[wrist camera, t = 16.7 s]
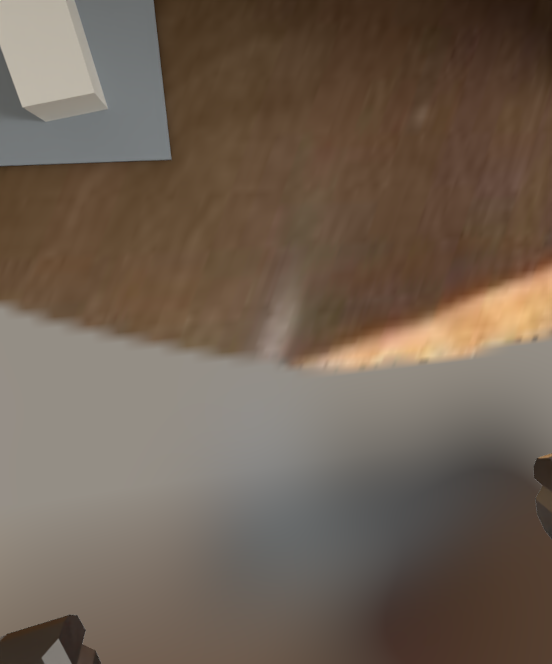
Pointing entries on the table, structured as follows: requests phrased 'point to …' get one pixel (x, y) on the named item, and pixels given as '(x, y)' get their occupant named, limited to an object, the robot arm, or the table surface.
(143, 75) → the slate mat
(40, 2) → the cream block
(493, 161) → the table surface
